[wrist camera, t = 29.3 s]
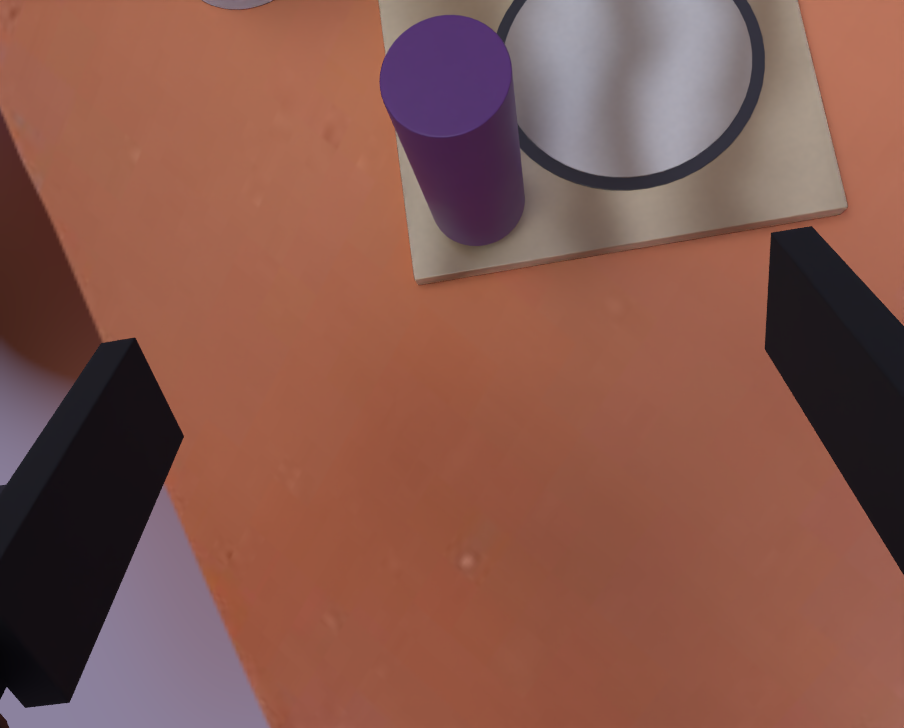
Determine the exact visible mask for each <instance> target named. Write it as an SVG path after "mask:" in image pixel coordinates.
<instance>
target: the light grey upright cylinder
mask: <svg viewBox="0 0 904 728" xmlns="http://www.w3.org/2000/svg"><path fill="white" fill-rule="evenodd" d="M202 1H204V2H206V3H208V4H210V5H213V6H216V7H220V8H225V9H248V8H253V7H257V6H260V5H263V4H266V3H268V2H271V1H273V0H202Z"/></svg>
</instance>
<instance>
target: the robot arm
mask: <svg viewBox="0 0 904 728" xmlns="http://www.w3.org/2000/svg"><path fill="white" fill-rule="evenodd" d="M765 350H766V352H767V353H768V355H769V357H770V358H771V360H772V361H773V363H774V365H775V366H776V368H777V370H778V371H779V373H780V374H781V376H782V378H783V379H784V381H785V383H786V384H787V386H788V387H789V389H790V391H791V392H792V394H793V396H794V397H795V399H796V400H797V402H798V404H799V405H800V407H801V409H802V410H803V412H804V413H805V415H806V417H807V418H808V420H809V422H810V423H811V425H812V426H813V428H814V430H815V431H816V433H817V435H818V436H819V438H820V439H821V441H822V443H823V444H824V446H825V448H826V449H827V451H828V452H829V454H830V456H831V457H832V459H833V461H834V462H835V464H836V465H837V467H838V469H839V470H840V472H841V474H842V475H843V477H844V479H845V480H846V482H847V483H848V485H849V487H850V488H851V490H852V492H853V493H854V495H855V496H856V498H857V500H858V501H859V503H860V505H861V506H862V508H863V509H864V511H865V513H866V514H867V516H868V518H869V519H870V521H871V522H872V524H873V526H874V527H875V529H876V531H877V532H878V534H879V535H880V537H881V539H882V540H883V542H884V544H885V545H886V547H887V548H888V550H889V552H890V553H891V555H892V557H893V558H894V560H895V561H896V563H897V565H898V566H899V568H900V570H901V571H902V573H903V574H904V326H903V325H902V324H901V323H900V322H899V320H898V319H897V318H896V317H895V316H894V315H893V314H892V313H891V312H890V311H889V310H888V308H887V307H886V306H885V305H884V304H883V303H882V302H881V301H880V300H879V299H878V298H877V297H876V295H875V294H874V293H873V292H872V291H871V290H870V289H869V288H868V287H867V286H866V285H865V284H864V282H863V281H862V280H861V279H860V278H859V277H858V276H857V275H856V274H855V273H854V272H853V271H852V269H851V268H850V267H849V266H848V265H847V264H846V263H845V262H844V261H843V260H842V259H841V258H840V256H839V255H838V254H837V253H836V252H835V251H834V250H833V249H832V248H831V247H830V246H829V245H828V243H827V242H826V241H825V240H824V239H823V238H822V237H821V236H820V235H819V234H818V233H817V232H816V230H815V229H814V228H813V227H812V226H810V227H804V228H798V229H792V230H785V231H779V232H773V233H771V245H770V264H769V282H768V300H767V318H766V336H765ZM183 438H184V436H183V433H182V431H181V429H180V427H179V425H178V423H177V421H176V419H175V417H174V415H173V413H172V411H171V409H170V407H169V405H168V403H167V401H166V399H165V397H164V395H163V393H162V391H161V389H160V387H159V385H158V383H157V381H156V379H155V377H154V375H153V373H152V371H151V369H150V366H149V364H148V362H147V360H146V358H145V356H144V354H143V352H142V350H141V348H140V346H139V344H138V342H137V340H136V338H130V339H124V340H118V341H112V342H106V343H101V344H100V346H99V347H98V349H97V350H96V352H95V353H94V355H93V356H92V358H91V359H90V361H89V362H88V364H87V365H86V367H85V368H84V370H83V371H82V373H81V374H80V376H79V377H78V379H77V380H76V382H75V383H74V385H73V386H72V388H71V389H70V391H69V392H68V394H67V395H66V397H65V398H64V400H63V401H62V403H61V404H60V406H59V407H58V409H57V410H56V411H55V413H54V414H53V416H52V418H51V419H50V420H49V422H48V424H47V425H46V427H45V428H44V429H43V431H42V432H41V434H40V435H39V437H38V438H37V440H36V442H35V443H34V444H33V446H32V448H31V449H30V450H29V452H28V454H27V455H26V456H25V458H24V459H23V461H22V462H21V464H20V465H19V467H18V468H17V470H16V471H15V473H14V474H13V476H12V477H11V479H10V481H9V482H8V483H7V485H1V486H0V699H1V697H2V695H3V693H4V690H5V689H6V687H8V689H9V690H10V691H11V692H12V693H13V694H14V695H15V697H16V698H17V699H18V700H19V701H20V702H21V704H22V705H23V706H24V707H25V708H27V707H36V706H44V705H53V704H61V703H69V702H70V700H71V698H72V696H73V693H74V691H75V688H76V686H77V684H78V681H79V679H80V677H81V675H82V672H83V670H84V668H85V665H86V663H87V661H88V658H89V655H90V654H91V651H92V649H93V647H94V644H95V642H96V640H97V638H98V635H99V633H100V630H101V628H102V626H103V624H104V621H105V619H106V617H107V614H108V612H109V610H110V607H111V605H112V603H113V600H114V598H115V595H116V593H117V591H118V589H119V586H120V584H121V582H122V579H123V577H124V575H125V572H126V570H127V568H128V565H129V563H130V561H131V558H132V556H133V554H134V551H135V549H136V547H137V544H138V542H139V540H140V538H141V535H142V533H143V531H144V528H145V526H146V523H147V521H148V519H149V516H150V514H151V512H152V510H153V507H154V505H155V503H156V500H157V498H158V496H159V493H160V491H161V489H162V486H163V484H164V482H165V479H166V477H167V475H168V472H169V470H170V468H171V465H172V463H173V461H174V458H175V456H176V454H177V451H178V449H179V447H180V444H181V442H182V440H183ZM0 728H9V726H8V724H7V721H6V719H5V718H4V717H3V716H2V715H1V714H0Z"/></svg>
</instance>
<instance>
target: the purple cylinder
mask: <svg viewBox="0 0 904 728" xmlns="http://www.w3.org/2000/svg"><path fill="white" fill-rule="evenodd" d="M380 91H381V96H382V99H383V102H384V104H385V107H386V109H387V111H388V114H389V116H390V118H391V121H392V123H393V125H394V128H395V130H396V132H397V135H398V137H399V139H400V141H401V144H402V146H403V148H404V151H405V153H406V155H407V158H408V160H409V162H410V165H411V167H412V169H413V172H414V174H415V176H416V179H417V181H418V183H419V186H420V188H421V190H422V193H423V195H424V197H425V200H426V202H427V204H428V207H429V209H430V211H431V214H432V216H433V218H434V220H435V222H436V224H437V226H438V227H439V229H440V230H441V231H442V232H443V233H444V234H445V235H446V236H447V237H448V238H450V239H452V240H453V241H455V242H458V243H460V244H464V245H468V246H483V245H488V244H492V243H494V242H497V241H499V240H501V239H502V238H504V237H505V236H507V235H508V234H509V233H510V232H511V231H512V230H513V229H514V228H515V227H516V225H517V224H518V222H519V220H520V218H521V216H522V213H523V210H524V205H525V194H524V183H523V173H522V163H521V153H520V143H519V134H518V124H517V114H516V104H515V94H514V84H513V74H512V64H511V59H510V55H509V52H508V50H507V47H506V46H505V44H504V42H503V41H502V39H501V38H500V37H499V36H498V34H497V33H495V32H494V31H493V30H492V29H491V28H490V27H488V26H487V25H486V24H484V23H482V22H480V21H478V20H476V19H473V18H470V17H466V16H461V15H441V16H435V17H431V18H428V19H425V20H423V21H420V22H418V23H416V24H415V25H413V26H411V27H410V28H408V29H407V30H406V31H404V32H403V33H402V34H401V35H400V36H399V37H398V38H397V39H396V40H395V41H394V43H393V44H392V45H391V47H390V48H389V50H388V52H387V54H386V56H385V58H384V61H383V64H382V67H381V72H380Z"/></svg>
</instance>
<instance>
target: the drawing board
mask: <svg viewBox="0 0 904 728" xmlns="http://www.w3.org/2000/svg"><path fill="white" fill-rule="evenodd" d="M378 2H379V9H380V17H381V25H382V33H383V40H384V48H385V56H386V54H387V52H388V50H389V48H390V47H391V45H392V44H393V43H394V41H395V40H396V39H397V38H398V37H399V36H400V35H401V34H402V33H403V32H404V31H406V30H407V29H408V28H410V27H411V26H413V25H415V24H416V23H418V22H420V21H423V20H425V19H428V18H431V17H435V16H441V15H461V16H466V17H470V18H473V19H476V20H478V21H480V22H482V23H484V24H486V25H487V26H488V27H490V28H491V29H492V30H493V31H494V32H495V33H497V34H498V36H499V37H500V38H501V39H502V41H503V42H504V44H505V46H506V47H507V50H508V52H509V55H510V59H511V64H512V74H513V84H514V94H515V104H516V114H517V124H518V134H519V143H520V153H521V163H522V173H523V183H524V194H525V205H524V210H523V213H522V216H521V218H520V220H519V222H518V224H517V225H516V227H515V228H514V229H513V230H512V231H511V232H510V233H509V234H508V235H507V236H505V237H504V238H502V239H501V240H499V241H497V242H494V243H492V244H488V245H483V246H468V245H464V244H460V243H458V242H455V241H453V240H452V239H450V238H448V237H447V236H446V235H445V234H444V233H443V232H442V231H441V230H440V229H439V227H438V226H437V224H436V222H435V220H434V218H433V216H432V214H431V211H430V209H429V207H428V204H427V202H426V200H425V197H424V195H423V193H422V190H421V188H420V186H419V183H418V181H417V179H416V176H415V174H414V172H413V169H412V167H411V165H410V162H409V160H408V158H407V155H406V153H405V151H404V148H403V146H402V144H401V141H400V139H399V137H398V135H397V132H396V130H395V133H396V141H397V149H398V156H399V164H400V172H401V180H402V187H403V195H404V203H405V211H406V218H407V226H408V234H409V242H410V249H411V257H412V265H413V273H414V279H415V281H416V283H417V284H418V285H423V284H429V283H435V282H441V281H447V280H453V279H459V278H465V277H471V276H477V275H483V274H489V273H495V272H501V271H506V270H512V269H518V268H524V267H530V266H536V265H542V264H548V263H554V262H560V261H566V260H572V259H578V258H584V257H590V256H596V255H602V254H608V253H614V252H620V251H626V250H632V249H638V248H644V247H650V246H656V245H661V244H667V243H673V242H679V241H685V240H691V239H697V238H703V237H709V236H715V235H721V234H727V233H733V232H739V231H745V230H751V229H757V228H763V227H769V226H775V225H781V224H787V223H793V222H799V221H805V220H811V219H816V218H822V217H828V216H834V215H840V214H841V213H842V212H843V211H844V210H845V209H846V208H847V207H848V205H847V201H846V196H845V192H844V188H843V184H842V180H841V176H840V172H839V168H838V164H837V160H836V156H835V152H834V147H833V143H832V139H831V135H830V131H829V127H828V123H827V119H826V115H825V111H824V107H823V103H822V98H821V94H820V90H819V86H818V82H817V78H816V74H815V70H814V66H813V62H812V58H811V54H810V49H809V45H808V41H807V37H806V33H805V29H804V25H803V21H802V17H801V13H800V9H799V5H798V0H378Z"/></svg>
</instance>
